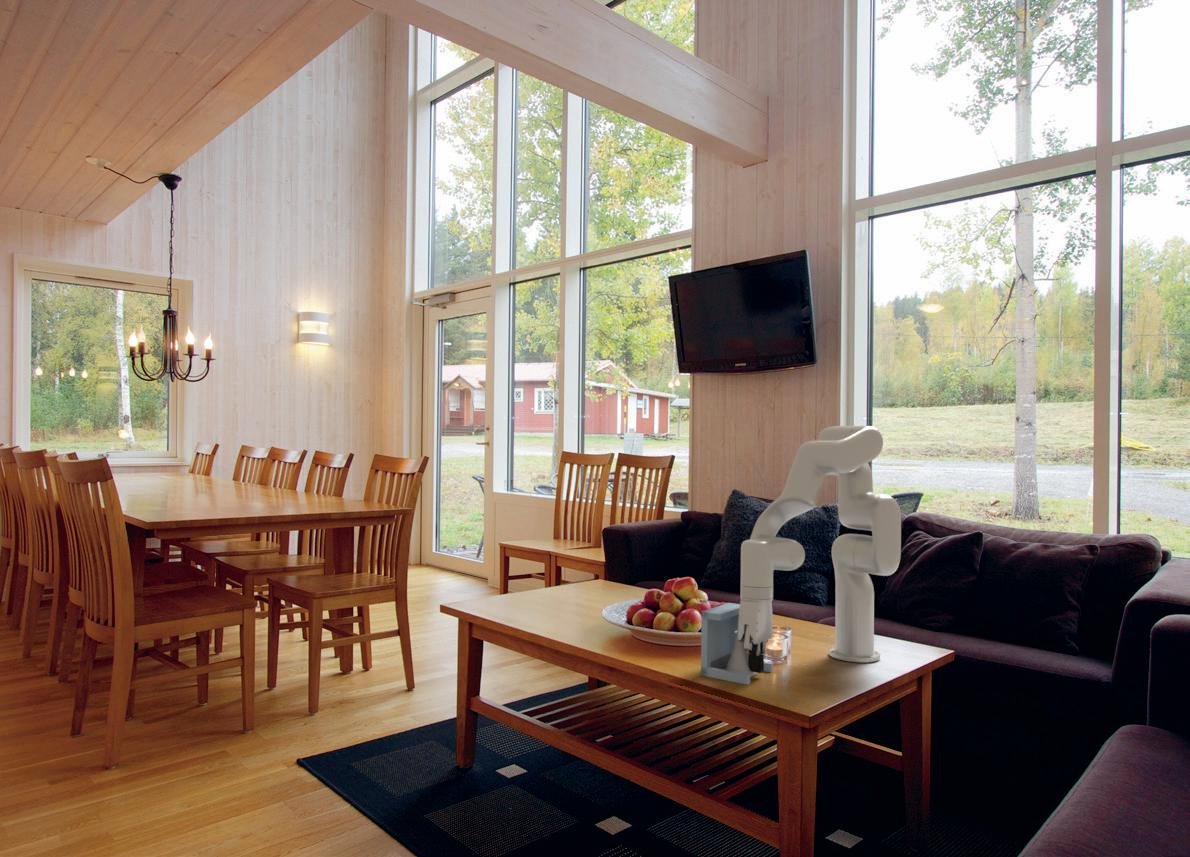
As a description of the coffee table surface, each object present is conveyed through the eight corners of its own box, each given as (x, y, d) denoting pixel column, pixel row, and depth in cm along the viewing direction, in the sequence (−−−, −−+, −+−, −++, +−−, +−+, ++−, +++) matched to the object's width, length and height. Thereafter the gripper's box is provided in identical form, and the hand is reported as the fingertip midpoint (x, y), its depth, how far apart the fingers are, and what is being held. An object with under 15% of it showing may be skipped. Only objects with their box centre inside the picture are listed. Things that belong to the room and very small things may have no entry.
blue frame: (728, 663, 203) (728, 602, 203) (773, 671, 196) (773, 608, 196) (701, 675, 191) (701, 611, 192) (747, 684, 184) (748, 618, 185)
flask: (762, 675, 193) (762, 632, 193) (741, 680, 188) (741, 636, 188) (740, 668, 198) (740, 627, 199) (718, 673, 194) (719, 631, 194)
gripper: (755, 586, 199) (755, 662, 199) (727, 595, 187) (726, 675, 187) (784, 590, 195) (783, 667, 194) (757, 599, 183) (757, 681, 182)
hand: (756, 671), depth 191 cm, fingers closed
